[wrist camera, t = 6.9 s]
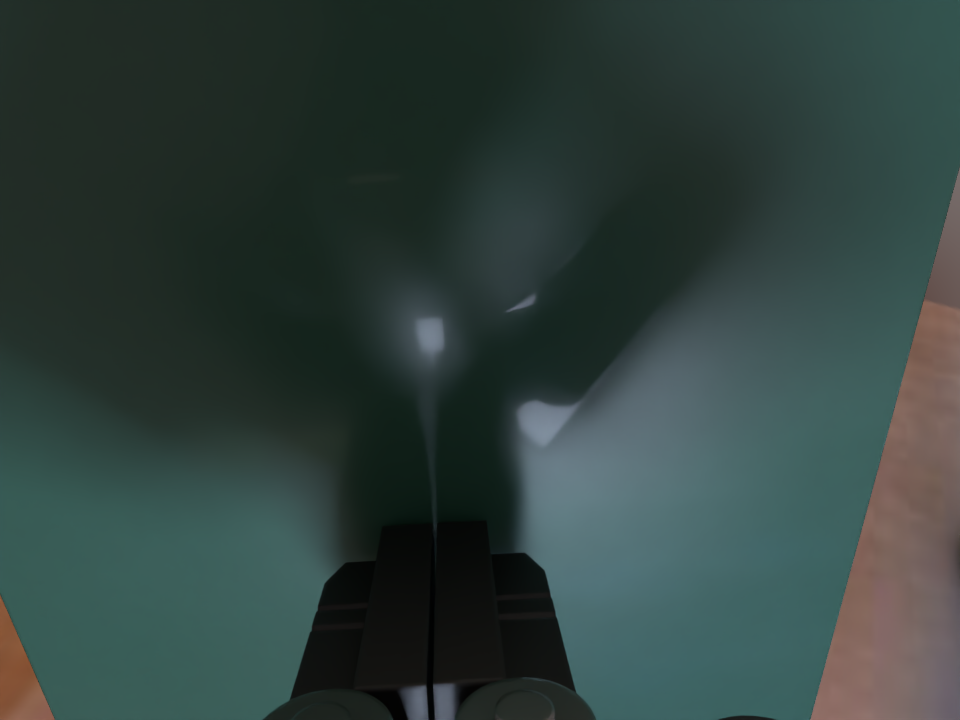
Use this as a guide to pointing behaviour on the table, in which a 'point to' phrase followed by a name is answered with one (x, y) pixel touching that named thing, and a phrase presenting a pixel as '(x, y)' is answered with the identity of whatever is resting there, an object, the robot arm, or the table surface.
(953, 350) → the table surface
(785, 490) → the tin lid
